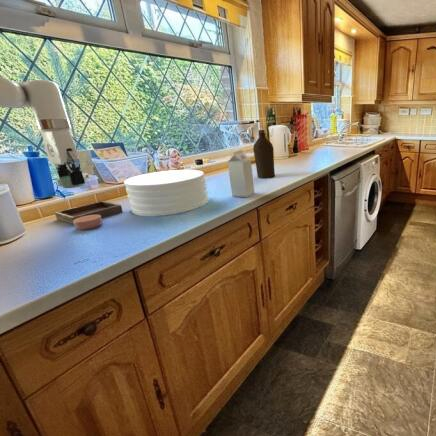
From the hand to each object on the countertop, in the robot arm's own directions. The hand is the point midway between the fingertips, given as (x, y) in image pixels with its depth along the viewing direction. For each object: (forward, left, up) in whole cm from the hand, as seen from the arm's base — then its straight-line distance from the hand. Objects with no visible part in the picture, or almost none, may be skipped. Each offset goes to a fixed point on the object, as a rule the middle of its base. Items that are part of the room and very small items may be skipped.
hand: (72, 182), depth 96 cm
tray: (+6, +11, -15) cm, 19 cm away
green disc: (0, 0, -1) cm, 1 cm away
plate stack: (+28, -5, -15) cm, 32 cm away
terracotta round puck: (0, -2, -15) cm, 15 cm away
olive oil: (+85, -6, -15) cm, 86 cm away
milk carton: (+51, -22, -15) cm, 58 cm away
